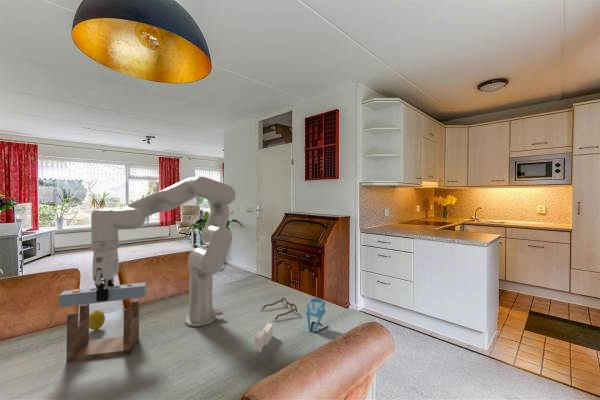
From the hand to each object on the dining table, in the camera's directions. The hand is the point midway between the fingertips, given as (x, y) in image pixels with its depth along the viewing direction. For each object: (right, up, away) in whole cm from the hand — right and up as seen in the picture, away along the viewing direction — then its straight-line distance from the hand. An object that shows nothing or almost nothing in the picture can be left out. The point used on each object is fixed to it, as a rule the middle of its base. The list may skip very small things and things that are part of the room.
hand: (105, 297), depth 92 cm
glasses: (+57, -21, +35) cm, 70 cm away
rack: (-1, -19, +2) cm, 19 cm away
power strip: (0, -1, 0) cm, 1 cm away
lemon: (-14, -19, +14) cm, 27 cm away
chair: (+73, -21, +21) cm, 79 cm away
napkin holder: (+53, -21, +8) cm, 57 cm away
